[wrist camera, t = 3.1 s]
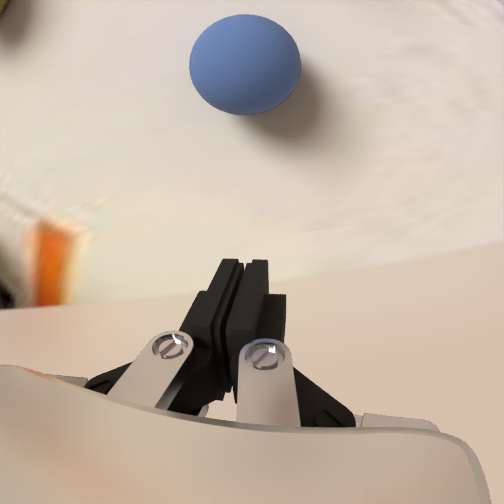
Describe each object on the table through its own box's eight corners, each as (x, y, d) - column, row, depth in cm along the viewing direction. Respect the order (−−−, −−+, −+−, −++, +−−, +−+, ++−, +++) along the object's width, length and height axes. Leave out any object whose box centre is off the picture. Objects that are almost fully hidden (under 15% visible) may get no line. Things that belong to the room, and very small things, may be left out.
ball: (208, 118, 18) (175, 121, 13) (204, 35, 16) (171, 9, 10) (300, 114, 17) (305, 113, 12) (296, 29, 15) (298, -4, 9)
